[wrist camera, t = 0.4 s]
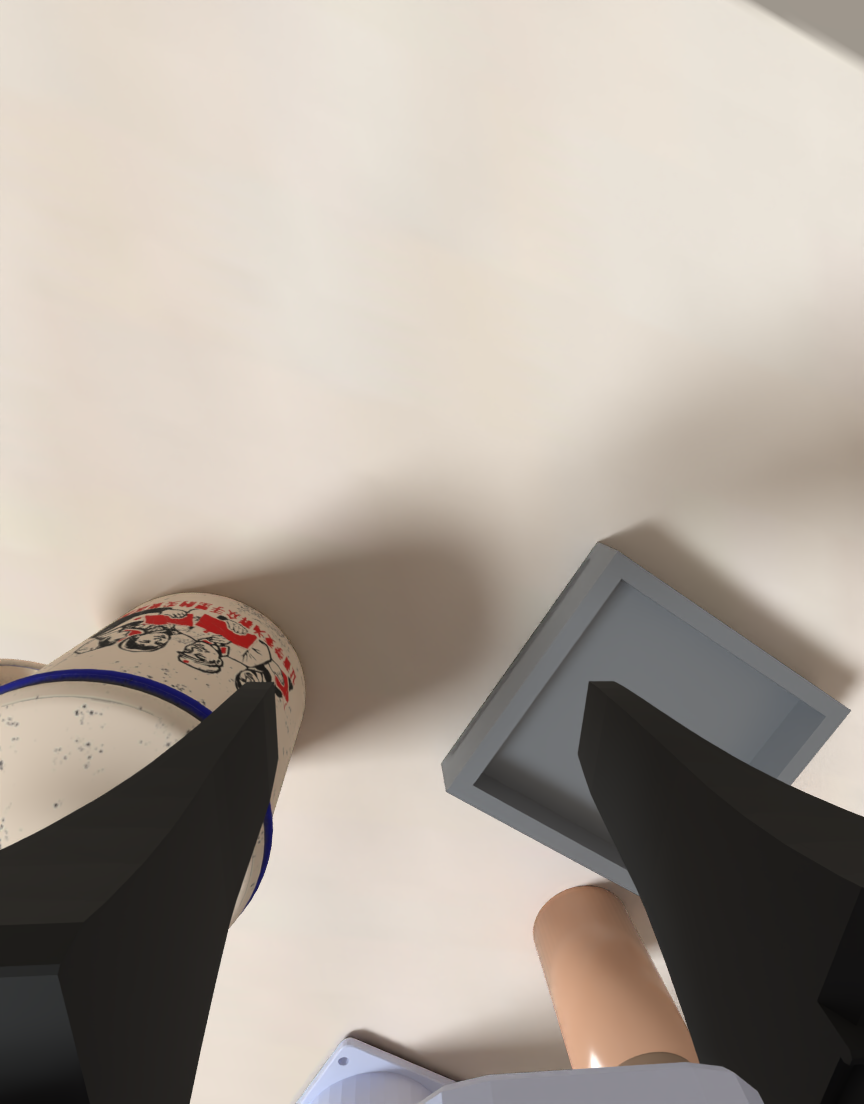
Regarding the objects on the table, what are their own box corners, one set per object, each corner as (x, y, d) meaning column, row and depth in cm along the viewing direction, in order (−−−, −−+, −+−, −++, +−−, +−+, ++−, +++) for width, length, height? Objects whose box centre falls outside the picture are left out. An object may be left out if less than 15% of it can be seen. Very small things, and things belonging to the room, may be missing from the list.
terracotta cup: (590, 981, 27) (659, 1163, 20) (514, 944, 26) (559, 1121, 19) (646, 911, 27) (737, 1073, 20) (570, 870, 26) (637, 1025, 19)
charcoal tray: (659, 884, 26) (682, 919, 24) (441, 763, 24) (446, 792, 22) (814, 689, 25) (851, 710, 23) (597, 541, 23) (617, 550, 21)
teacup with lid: (343, 626, 22) (299, 814, 11) (273, 810, 24) (170, 1146, 12) (46, 525, 21) (-372, 625, 9) (-11, 730, 22) (-435, 1037, 11)
